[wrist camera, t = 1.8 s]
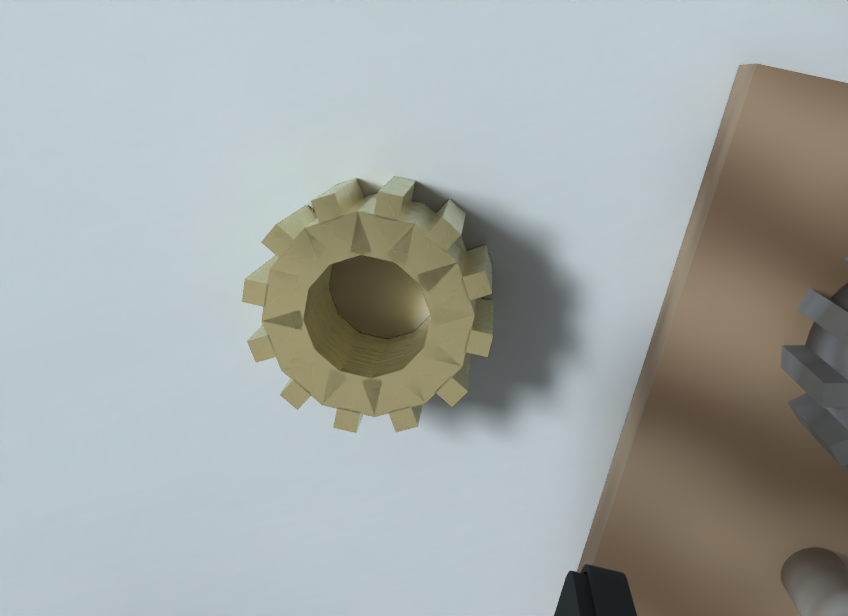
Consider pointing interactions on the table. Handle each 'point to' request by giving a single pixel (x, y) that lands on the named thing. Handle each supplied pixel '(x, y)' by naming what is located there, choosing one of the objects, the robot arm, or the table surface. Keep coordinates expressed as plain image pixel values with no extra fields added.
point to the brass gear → (342, 344)
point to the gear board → (746, 378)
